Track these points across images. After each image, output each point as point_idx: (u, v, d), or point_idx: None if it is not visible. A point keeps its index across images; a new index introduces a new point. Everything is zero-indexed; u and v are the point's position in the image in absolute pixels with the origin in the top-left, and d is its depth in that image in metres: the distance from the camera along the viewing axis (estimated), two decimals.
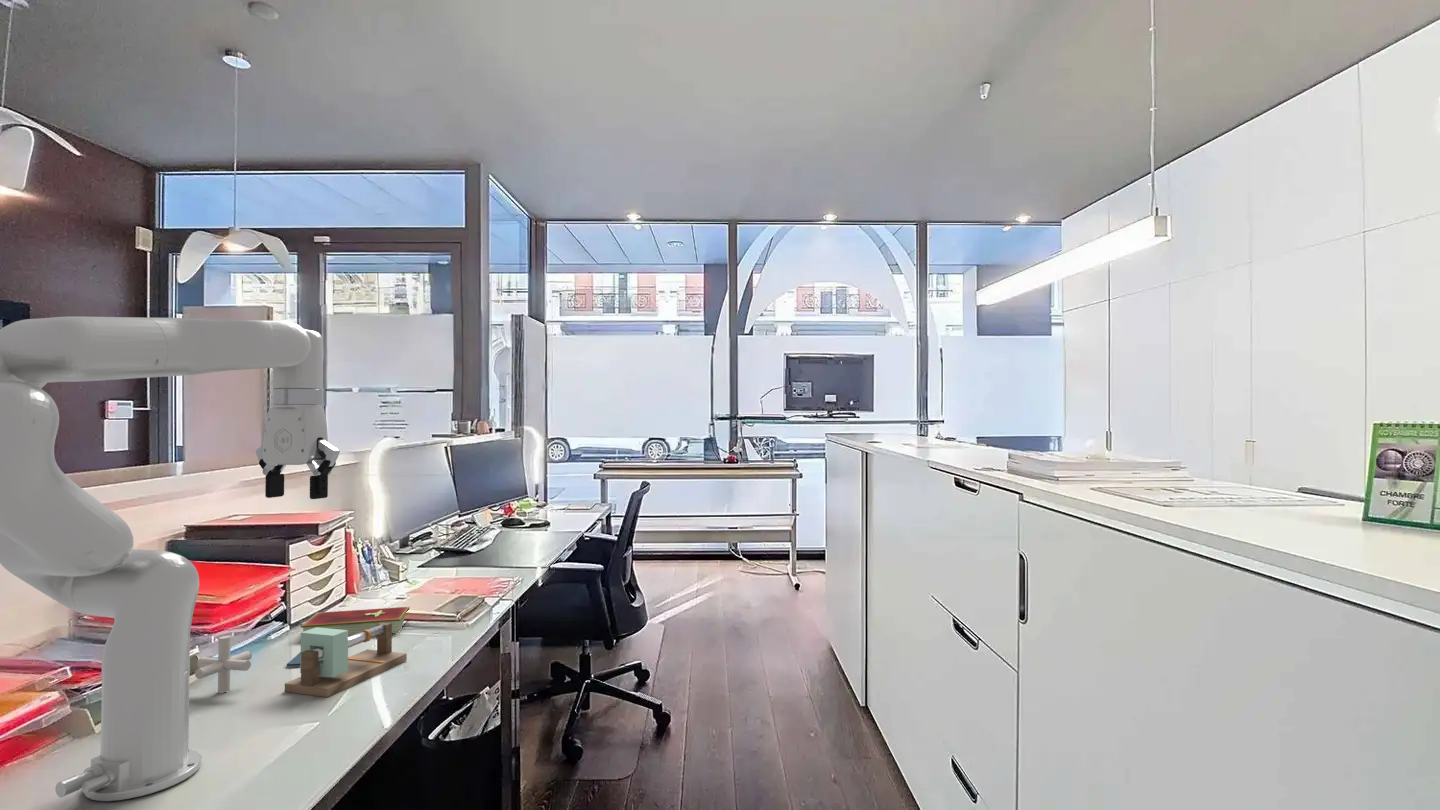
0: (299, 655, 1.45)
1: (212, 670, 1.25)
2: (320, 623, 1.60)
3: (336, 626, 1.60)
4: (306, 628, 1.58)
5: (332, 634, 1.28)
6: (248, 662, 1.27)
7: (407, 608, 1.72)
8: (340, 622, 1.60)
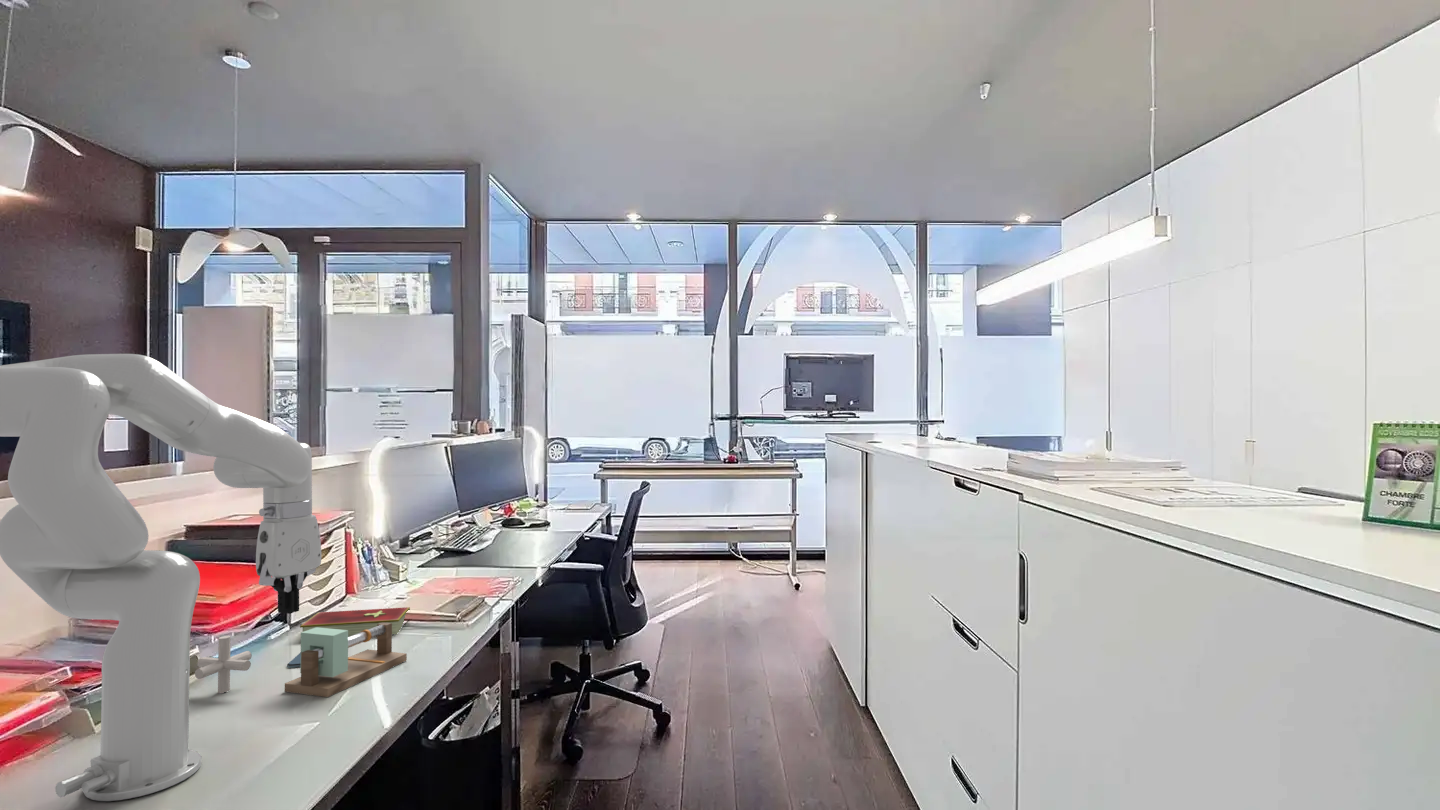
0: (299, 655, 1.45)
1: (212, 670, 1.25)
2: (319, 623, 1.60)
3: (335, 626, 1.60)
4: (305, 628, 1.58)
5: (332, 634, 1.28)
6: (248, 662, 1.27)
7: (407, 609, 1.72)
8: (339, 622, 1.60)
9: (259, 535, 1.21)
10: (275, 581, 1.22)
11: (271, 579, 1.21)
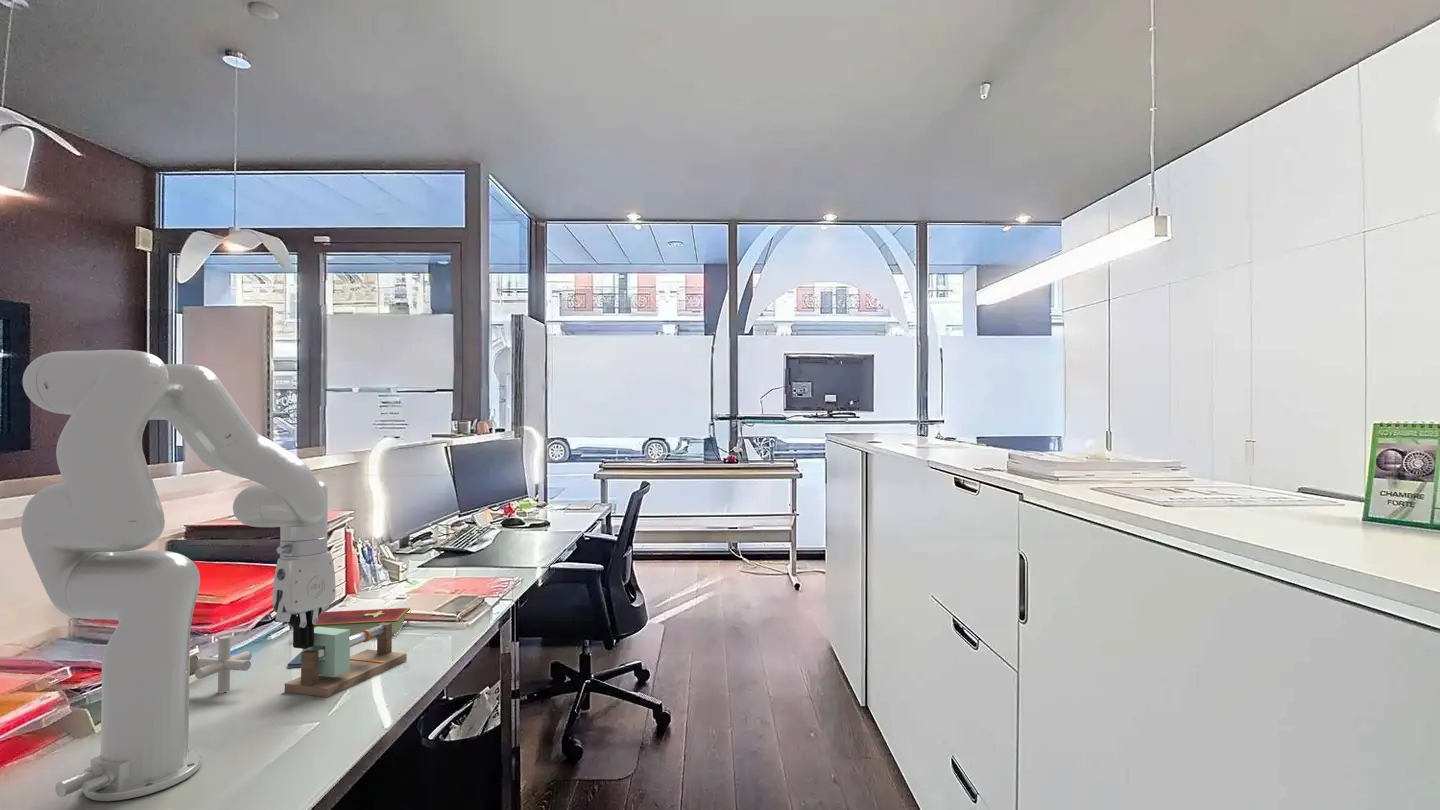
0: (300, 655, 1.45)
1: (212, 670, 1.25)
2: (319, 623, 1.60)
3: (334, 626, 1.60)
4: None
5: (334, 633, 1.29)
6: (248, 662, 1.27)
7: (407, 609, 1.71)
8: (338, 622, 1.60)
9: (276, 572, 1.24)
10: (291, 617, 1.25)
11: (287, 615, 1.24)
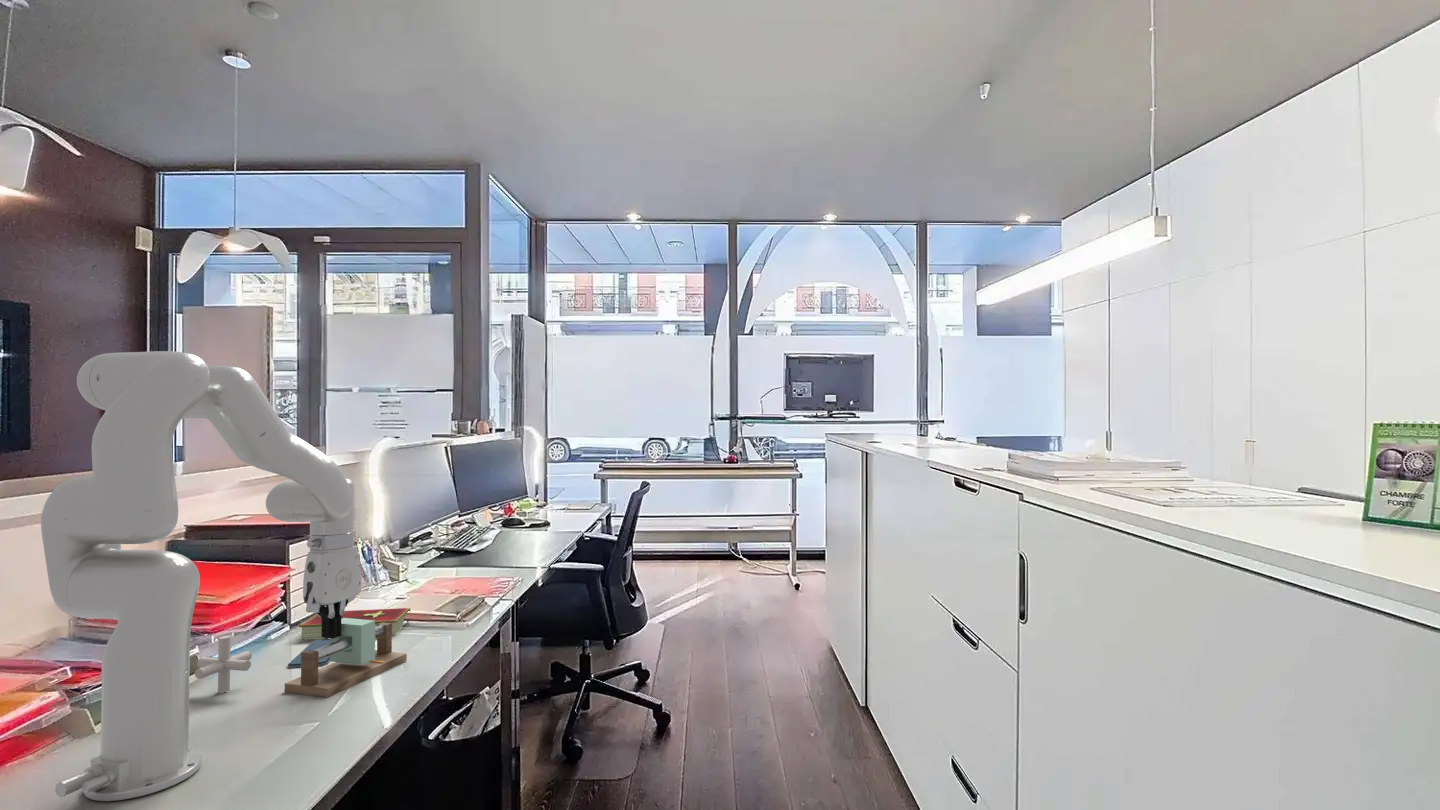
0: (300, 655, 1.45)
1: (212, 670, 1.25)
2: (318, 623, 1.60)
3: None
4: (304, 628, 1.59)
5: (360, 624, 1.35)
6: (248, 662, 1.27)
7: (407, 609, 1.71)
8: None
9: (306, 565, 1.30)
10: (320, 608, 1.31)
11: (317, 606, 1.30)
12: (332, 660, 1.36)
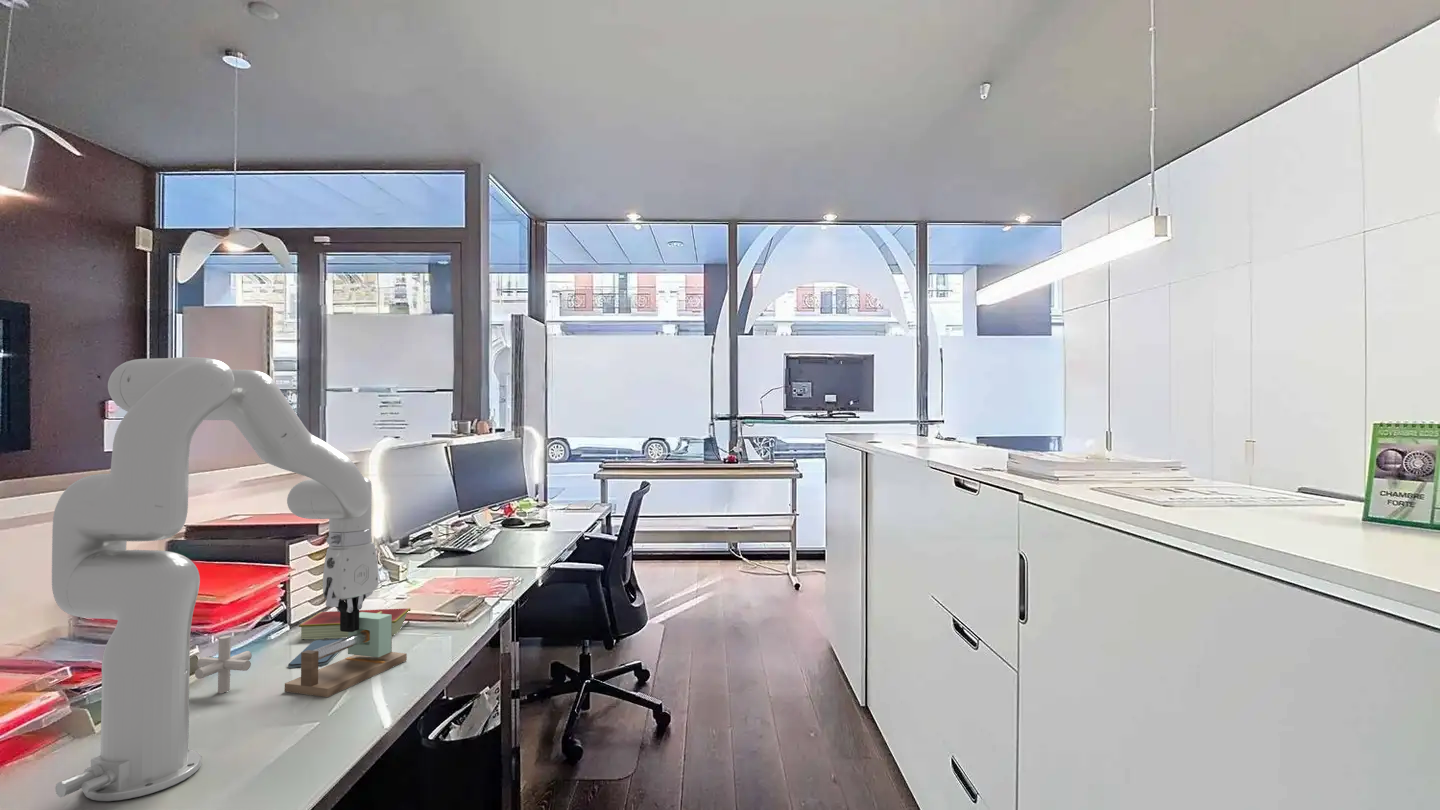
0: (300, 655, 1.45)
1: (212, 670, 1.25)
2: (318, 623, 1.60)
3: (333, 626, 1.60)
4: (304, 627, 1.59)
5: (377, 618, 1.39)
6: (248, 662, 1.27)
7: (407, 610, 1.71)
8: (337, 622, 1.60)
9: (326, 561, 1.34)
10: (339, 603, 1.35)
11: (336, 601, 1.34)
12: (350, 652, 1.40)
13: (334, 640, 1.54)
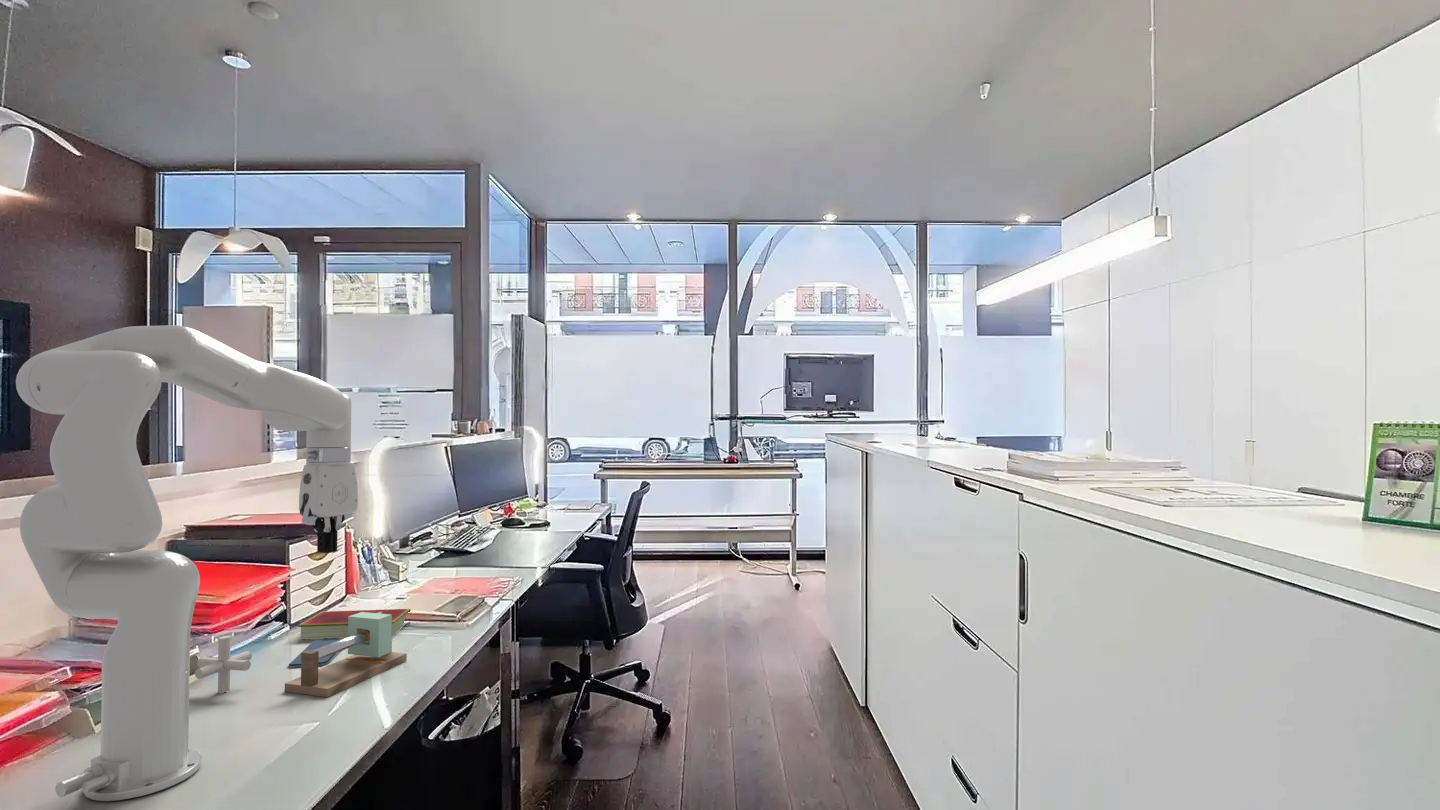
0: (300, 655, 1.45)
1: (212, 670, 1.25)
2: (317, 623, 1.60)
3: (332, 626, 1.59)
4: (303, 627, 1.59)
5: (377, 618, 1.39)
6: (248, 662, 1.27)
7: (407, 610, 1.70)
8: (336, 623, 1.60)
9: (302, 477, 1.29)
10: (316, 521, 1.30)
11: (313, 518, 1.29)
12: (350, 652, 1.40)
13: (334, 640, 1.54)
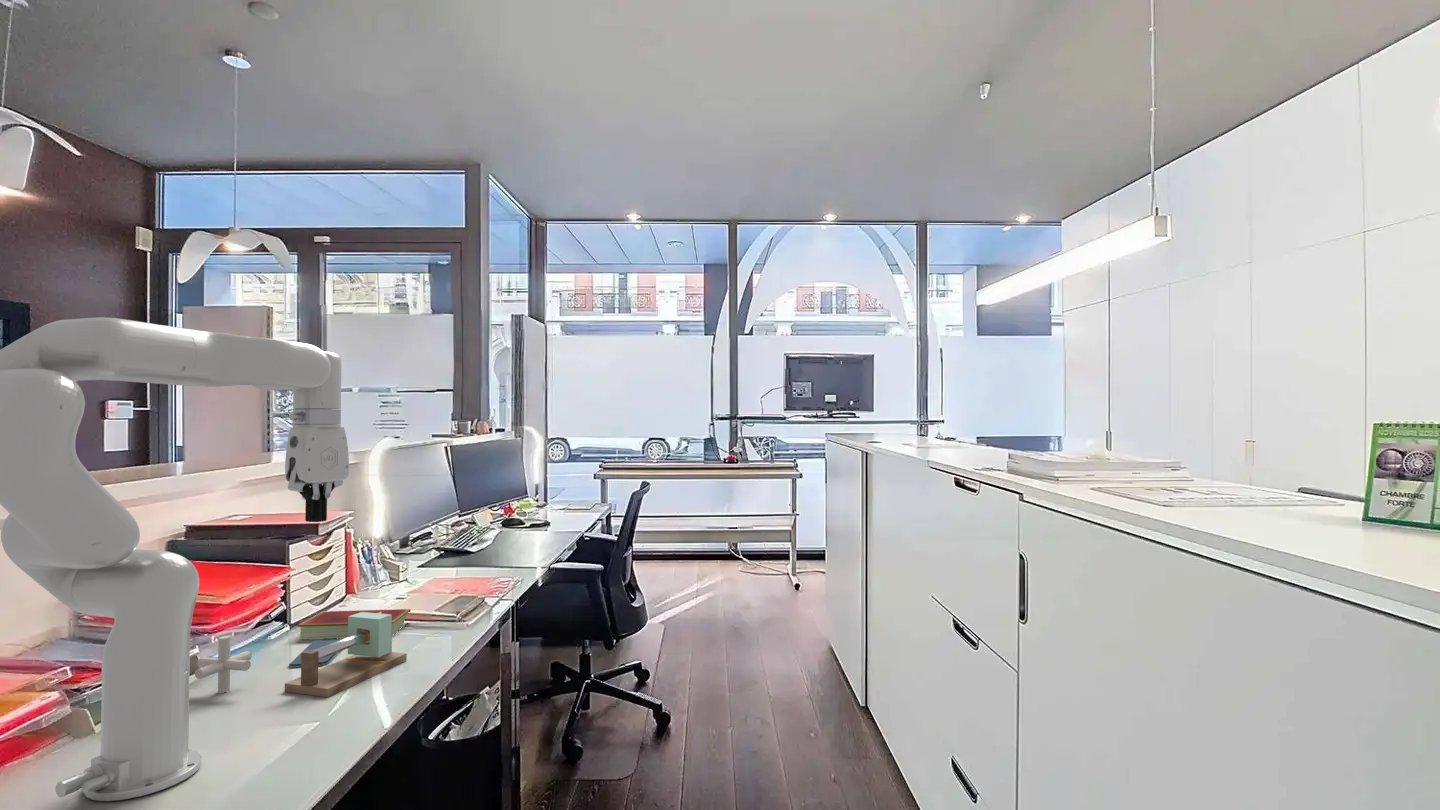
0: None
1: (212, 670, 1.25)
2: (317, 623, 1.60)
3: (331, 626, 1.59)
4: (303, 627, 1.59)
5: (377, 618, 1.39)
6: (248, 662, 1.27)
7: (407, 610, 1.70)
8: (336, 623, 1.60)
9: (289, 440, 1.21)
10: (304, 487, 1.21)
11: (300, 485, 1.20)
12: (350, 652, 1.40)
13: (334, 640, 1.54)
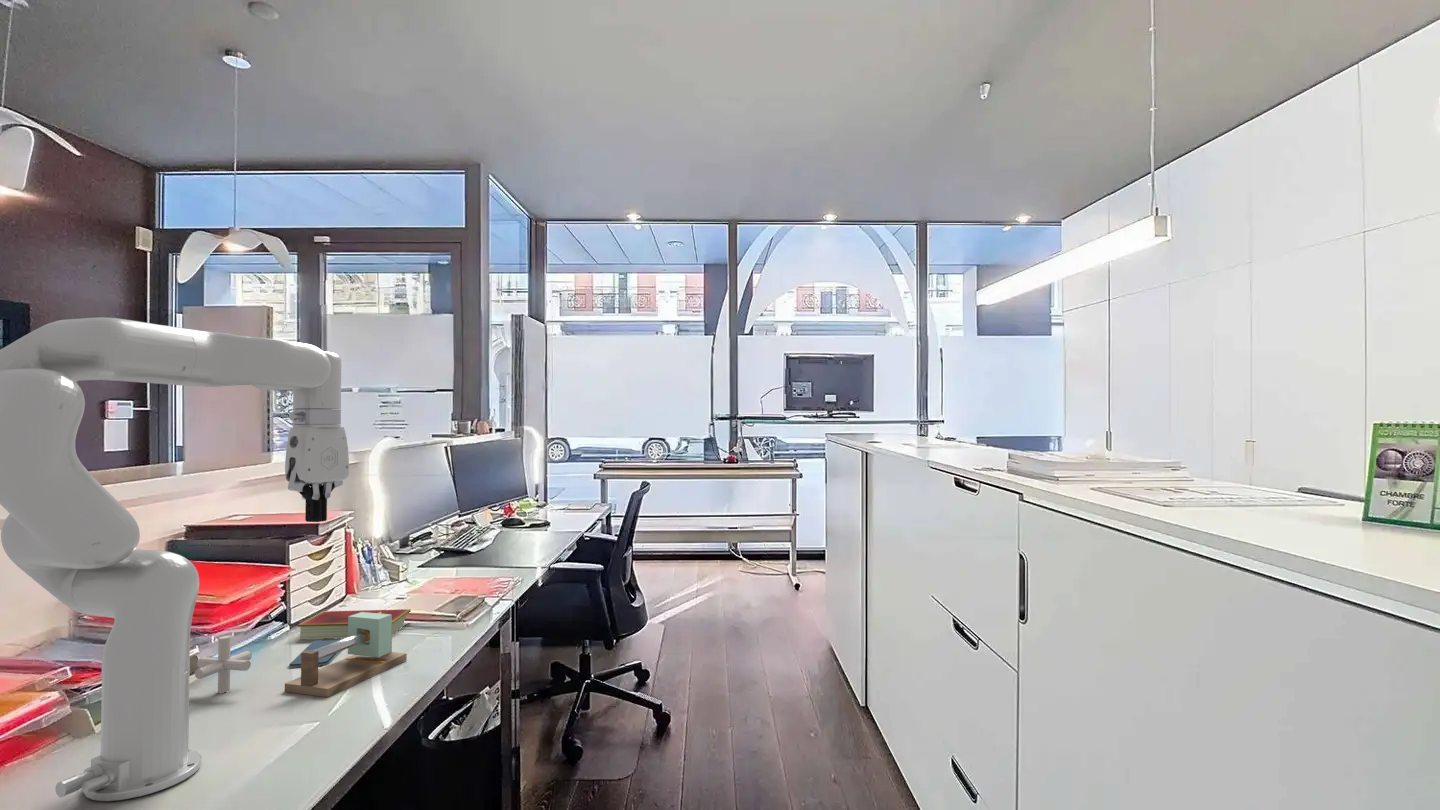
0: None
1: (212, 670, 1.25)
2: (317, 623, 1.60)
3: (331, 626, 1.59)
4: (303, 627, 1.59)
5: (377, 618, 1.39)
6: (248, 662, 1.27)
7: (407, 611, 1.70)
8: (335, 623, 1.60)
9: (289, 440, 1.21)
10: (304, 487, 1.21)
11: (300, 485, 1.20)
12: (350, 652, 1.40)
13: (334, 640, 1.54)
